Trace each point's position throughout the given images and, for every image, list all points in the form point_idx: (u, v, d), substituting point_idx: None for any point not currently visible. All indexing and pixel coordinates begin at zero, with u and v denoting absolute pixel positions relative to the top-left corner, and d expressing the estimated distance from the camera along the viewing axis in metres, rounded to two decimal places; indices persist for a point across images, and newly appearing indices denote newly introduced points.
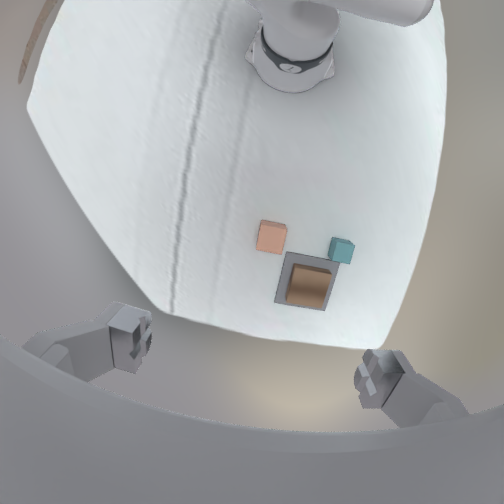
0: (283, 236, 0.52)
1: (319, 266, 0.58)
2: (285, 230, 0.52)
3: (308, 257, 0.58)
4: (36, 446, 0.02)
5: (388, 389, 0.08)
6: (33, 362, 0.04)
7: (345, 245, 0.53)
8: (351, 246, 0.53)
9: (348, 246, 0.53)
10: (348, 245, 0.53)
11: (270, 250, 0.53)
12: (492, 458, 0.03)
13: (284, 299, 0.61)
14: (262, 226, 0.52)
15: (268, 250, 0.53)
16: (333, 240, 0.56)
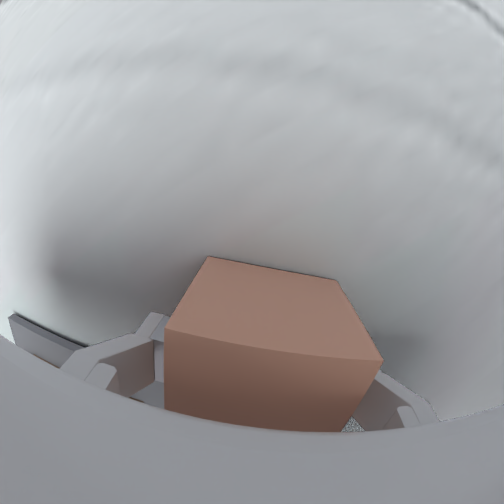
0: None
1: None
2: None
3: None
4: (36, 447, 0.02)
5: None
6: (33, 362, 0.04)
7: None
8: None
9: None
10: None
11: (178, 410, 0.06)
12: (492, 458, 0.03)
13: (26, 350, 0.12)
14: (367, 370, 0.06)
15: (175, 402, 0.06)
16: None
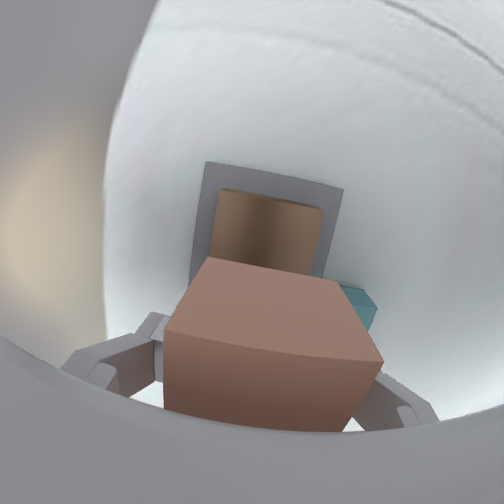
0: None
1: None
2: None
3: (328, 241, 0.24)
4: (36, 446, 0.02)
5: None
6: (33, 362, 0.04)
7: (365, 327, 0.23)
8: None
9: None
10: None
11: (177, 412, 0.06)
12: (492, 458, 0.03)
13: (216, 187, 0.23)
14: (367, 371, 0.06)
15: (175, 403, 0.06)
16: (364, 295, 0.25)
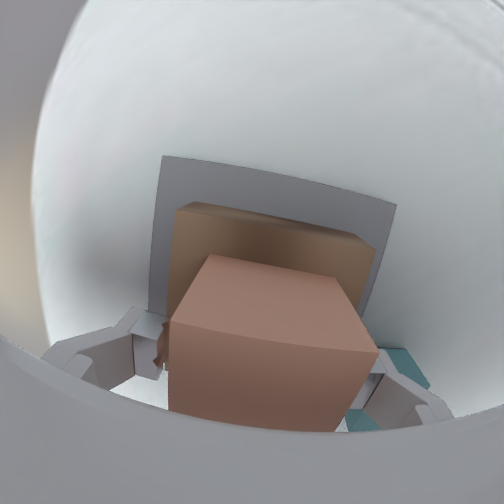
0: None
1: None
2: None
3: (367, 289, 0.14)
4: (36, 446, 0.02)
5: (369, 389, 0.08)
6: (33, 362, 0.04)
7: None
8: None
9: None
10: None
11: (181, 402, 0.07)
12: (492, 458, 0.03)
13: (179, 200, 0.13)
14: (364, 361, 0.06)
15: (179, 394, 0.06)
16: (409, 360, 0.15)
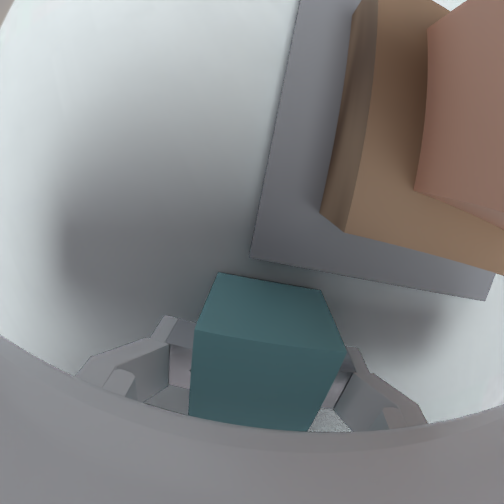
0: None
1: None
2: None
3: (423, 284, 0.10)
4: (36, 446, 0.02)
5: (337, 388, 0.08)
6: (33, 362, 0.04)
7: (247, 425, 0.08)
8: None
9: (232, 423, 0.08)
10: None
11: None
12: (492, 458, 0.03)
13: None
14: None
15: None
16: None
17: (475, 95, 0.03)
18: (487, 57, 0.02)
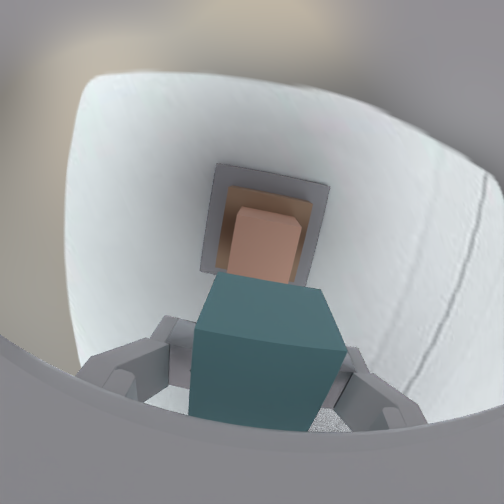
0: (232, 259, 0.22)
1: None
2: (230, 273, 0.22)
3: None
4: (36, 446, 0.02)
5: (337, 388, 0.08)
6: (33, 362, 0.04)
7: (247, 425, 0.08)
8: None
9: (233, 423, 0.08)
10: None
11: (265, 225, 0.21)
12: (492, 458, 0.03)
13: (308, 193, 0.28)
14: (284, 282, 0.22)
15: (270, 225, 0.21)
16: None
17: None
18: None
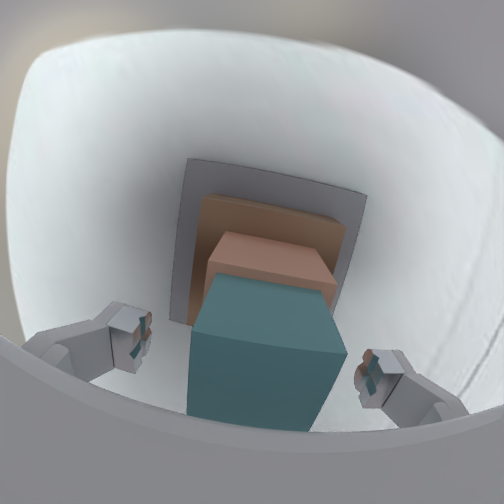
0: None
1: None
2: None
3: None
4: (36, 446, 0.02)
5: (388, 389, 0.08)
6: (33, 362, 0.04)
7: None
8: None
9: None
10: None
11: None
12: (492, 458, 0.03)
13: (335, 206, 0.17)
14: None
15: (276, 281, 0.10)
16: None
17: None
18: None
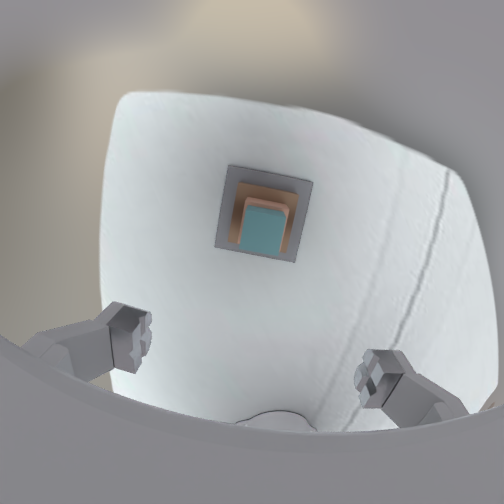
0: None
1: None
2: None
3: (263, 255, 0.40)
4: (36, 446, 0.02)
5: (388, 389, 0.08)
6: (33, 362, 0.04)
7: (258, 248, 0.28)
8: (246, 247, 0.28)
9: (254, 247, 0.28)
10: (253, 249, 0.28)
11: None
12: (492, 458, 0.03)
13: (297, 187, 0.37)
14: None
15: (268, 208, 0.30)
16: None
17: None
18: None
